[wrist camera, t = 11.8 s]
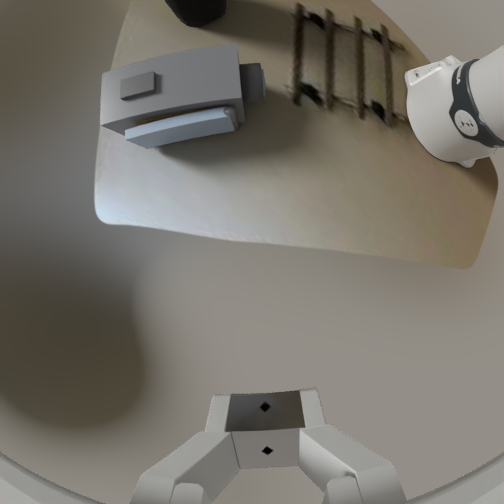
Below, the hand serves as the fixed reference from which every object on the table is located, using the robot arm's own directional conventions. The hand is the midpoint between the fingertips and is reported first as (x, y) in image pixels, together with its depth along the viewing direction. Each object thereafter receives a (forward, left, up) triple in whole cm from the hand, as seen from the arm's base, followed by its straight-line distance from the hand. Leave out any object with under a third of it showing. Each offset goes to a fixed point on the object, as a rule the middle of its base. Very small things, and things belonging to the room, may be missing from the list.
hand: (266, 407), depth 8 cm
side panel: (-3, -17, -30) cm, 34 cm away
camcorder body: (-6, -20, -31) cm, 38 cm away
